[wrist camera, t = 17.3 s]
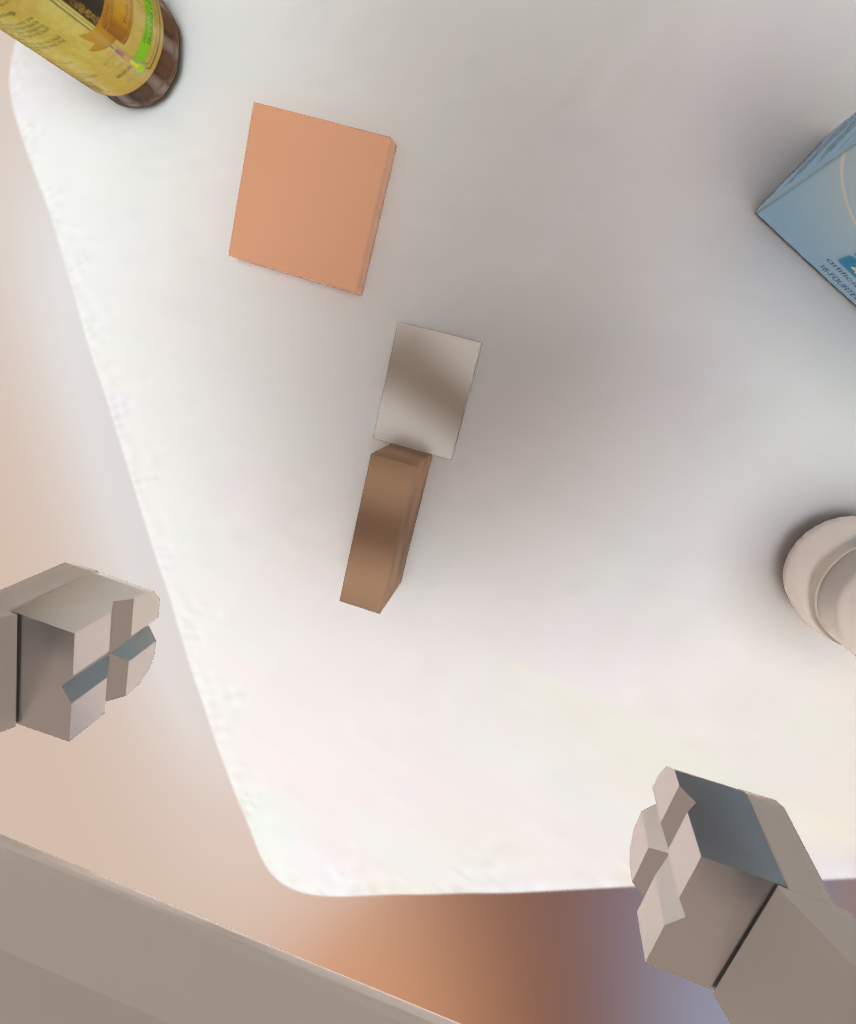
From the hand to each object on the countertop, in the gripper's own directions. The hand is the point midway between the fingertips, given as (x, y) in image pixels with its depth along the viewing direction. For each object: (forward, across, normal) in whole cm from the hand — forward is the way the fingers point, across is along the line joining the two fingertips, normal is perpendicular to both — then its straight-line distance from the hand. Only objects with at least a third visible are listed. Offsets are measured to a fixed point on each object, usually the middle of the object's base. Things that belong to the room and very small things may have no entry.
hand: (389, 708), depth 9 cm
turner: (+27, +6, +2) cm, 27 cm away
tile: (+26, +14, -10) cm, 32 cm away
